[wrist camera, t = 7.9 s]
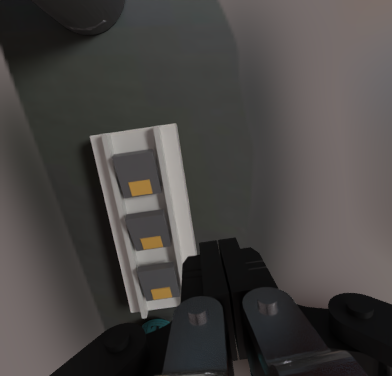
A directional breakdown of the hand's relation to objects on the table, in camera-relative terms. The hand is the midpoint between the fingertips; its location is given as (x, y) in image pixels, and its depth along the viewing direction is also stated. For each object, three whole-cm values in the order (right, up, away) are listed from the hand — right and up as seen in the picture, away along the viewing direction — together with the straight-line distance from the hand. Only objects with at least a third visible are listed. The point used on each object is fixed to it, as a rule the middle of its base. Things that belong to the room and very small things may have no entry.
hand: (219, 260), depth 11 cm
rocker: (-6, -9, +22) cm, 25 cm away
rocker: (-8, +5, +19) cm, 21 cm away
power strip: (-7, -1, +26) cm, 27 cm away
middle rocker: (-7, -2, +21) cm, 22 cm away
